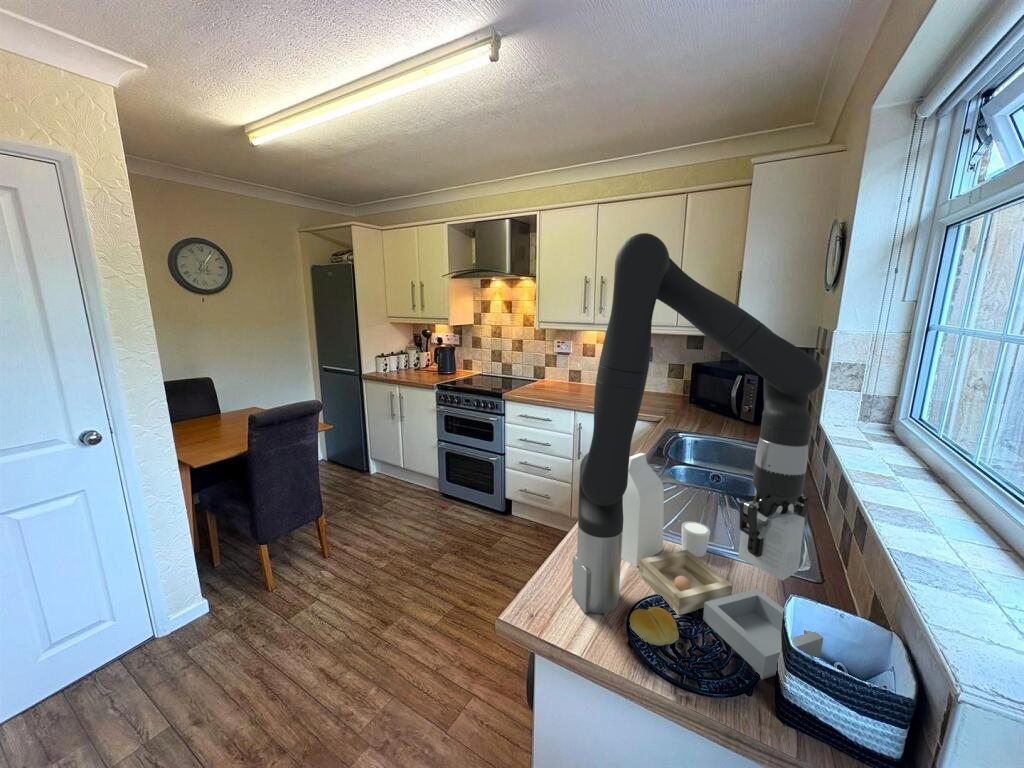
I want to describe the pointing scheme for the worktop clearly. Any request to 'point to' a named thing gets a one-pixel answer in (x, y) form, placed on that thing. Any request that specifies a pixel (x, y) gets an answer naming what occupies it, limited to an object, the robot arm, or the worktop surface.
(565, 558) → the worktop surface
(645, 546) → the milk
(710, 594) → the birch box
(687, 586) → the ball
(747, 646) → the grey tub
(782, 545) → the small box
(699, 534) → the white cylinder
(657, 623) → the bread roll
